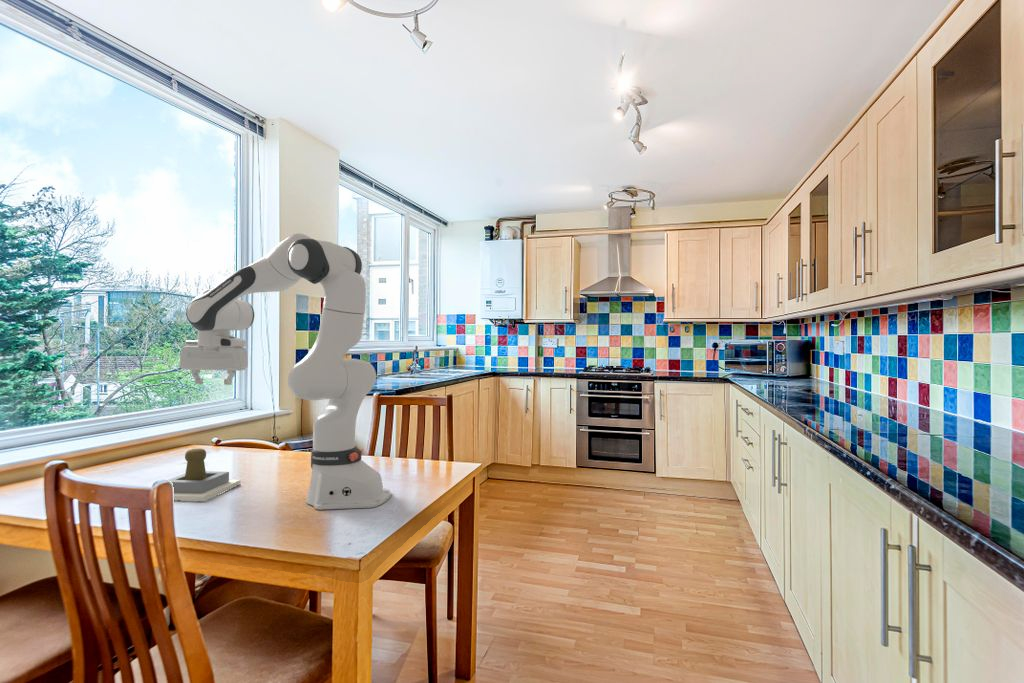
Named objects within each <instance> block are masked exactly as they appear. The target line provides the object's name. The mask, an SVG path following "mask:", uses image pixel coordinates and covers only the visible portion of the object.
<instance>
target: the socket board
mask: <svg viewBox="0 0 1024 683" xmlns="http://www.w3.org/2000/svg"><path fill="white" fill-rule="evenodd" d="M205 471H206V470H205ZM168 480H169V481H171V482H172V483H173V487H174V500H175V501H174V502H178V501H177V500H181V501H180V502H197V501H205V502H207V501H209V500H211V499H213V498H215V497H217V496H216V495H218V494H220V493H222V492H224V491H226V490H228V491H230V490H232V489H231V488H233V487H235V486H237V485H239V484H240V485H241V479H230V471H208V470H207V471H206V479H203V480H201V481H198V480H185V473H183V474H181V475H177V476H175V477H174V476H173V477H172V478H169V479H168ZM240 485H239V486H240ZM237 487H238V486H237ZM235 488H236V487H235ZM229 489H230V490H229ZM233 489H234V488H233ZM226 492H227V491H226ZM224 493H225V492H224ZM222 494H223V493H222ZM220 495H221V494H220ZM214 496H215V497H214ZM218 496H219V495H218ZM212 497H213V498H212ZM210 498H211V499H210ZM208 499H209V500H208ZM206 500H207V501H206Z"/></svg>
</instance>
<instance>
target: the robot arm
mask: <svg viewBox="0 0 1024 683" xmlns="http://www.w3.org/2000/svg"><path fill="white" fill-rule="evenodd" d="M362 266H363V262H362V259H361V256H360V255H359V254H358V253H357V252H356V251H355V250H353V249H351V248H350V247H348V246H342V245H338V244H337V243H333V242H331V241H327V240H319V239H314V238H311V237H310V236H309V235H306V234H305V233H299V232H298V233H293V234H291V235H289V236H288V237H285V239H283V240H282V241H280V242H279V243H278V244H276V245H275V246H274V247H273V248H272V249H271V250H269V251H268V253H267V254H265V255H264V256H262V257H261V258H259V259H258V260H256V261H254V262H253V263H251V264H248V265H247V266H244V267H242V268H240V269H238V270H236V271H235V272H233V273H232V274H230V275H229V276H227V277H226V278H225V279H223V280H222V281H221V282H219V283H218V284H217V285H216V286H214V287H213V288H208V289H205V290H203V291H202V292H201V293H200V295H197V296H196V297H194V298H193V299H191V301H190V302H189V304H188V305H187V307H186V312H185V315H186V319H187V321H188V322H189V323H190V324H191V326H192V327H193V328H195V329H196V330H197V340H190V339H189V340H185V341H184V342H182V344H181V352H180V357H179V364H178V365H179V368H180V369H181V370H183V371H184V370H189V371H190V373H191V375H192V377H193V379H194V385H203V384H204V382H203V381H204V378H201V377H200V373H201V371H226V372H227V375H228V376H227V378H224V379H223V385H224V386H230V385H231V386H232V384H233V379H234V377H235V376H236V373H237V372H236V371H245V370H246V369H247V368H248V364H249V363H248V362H249V360H248V359H249V358H248V352H247V349H246V348H245V347H246V345H247V341H246V340H245V339H243V338H240V337H236V336H234V335H231V331H245V330H248V329H249V328H250V327H251V326H252V325H253V323H254V320H255V310H254V307H253V306H252V305H251V303H250V302H248V301H246V300H242V299H240V298H241V297H243V296H246V295H250V294H255V293H257V294H258V293H277V292H283V291H284V292H285V290H288V289H290V288H291V287H293V286H294V285H296V284H297V283H298V282H299V281H300V280H302V279H304V280H307V281H308V282H309V283H311V284H313V285H317V284H318V283H319V284H320V285H321V286H322V287H323V291H324V296H323V304H322V310H321V311H322V312H321V316H320V324H319V329H318V334H317V336H316V339H315V341H314V343H313V345H312V347H311V349H310V350H309V351H308V353H307V354H306V355H305V356H304V357H303V358H302V359H301V360H300V361H298V362H297V363H295V365H293V367H292V368H291V369H290V371H289V374H288V379H287V382H288V383H287V384H288V387H289V390H290V392H291V394H292V395H293V396H294V397H295V398H297V399H298V400H299V399H301V400H306V401H307V400H308V401H321V400H328V403H327V406H326V408H325V409H324V410H323V411H322V412H321V413H320V414H318V415H317V416H316V417H315V419H314V420H313V424H312V448H311V451H310V467H311V477H310V482H309V484H310V485H309V489H308V493H307V496H306V499H305V502H306V504H308V505H311V506H313V508H314V509H315V510H321V511H322V510H338V509H339V510H340V509H341V510H342V509H367V508H370V509H371V508H376V507H379V506H381V505H382V504H384V503H386V502H387V501H388V500H389V499H390V497H391V495H392V492H391V490H390V489H388V488H384V486H383V479H382V477H381V474H380V472H379V471H377V470H376V469H374V468H373V467H371V466H370V465H368V464H367V463H366V462H365V461H363V460H362V454H363V453H364V448H362V449H359V448H358V447H357V446H356V425H357V417H358V413H359V410H360V407H361V405H362V403H363V401H364V399H365V398H366V396H367V395H368V394H369V393H370V392H371V391H372V390H373V389H374V388H375V385H376V381H377V372H376V369H375V367H374V366H373V364H372V363H370V362H369V361H366V360H363V359H358V358H346V357H345V356H346V355H347V353H348V352H349V351H350V350H351V349H352V348H354V347H355V346H356V345H357V344H359V343H360V342H361V338H362V333H363V327H364V322H365V320H364V319H365V314H366V303H367V302H366V301H367V299H366V298H367V296H366V295H367V294H366V293H367V292H366V281H365V278H364V277H363V276H362V274H361V272H362V270H363V269H362V268H363V267H362Z"/></svg>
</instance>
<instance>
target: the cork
mask: <svg viewBox="0 0 1024 683" xmlns="http://www.w3.org/2000/svg"><path fill="white" fill-rule="evenodd" d="M184 458H185V459H184V460H185V461H186V468H185V473H184V474H185V480H198V481H201V480H203V479H206V465H205V459H206V458H207V451H206V449H204V448H193V449H188V450H187V451H186V452H185V455H184Z"/></svg>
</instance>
